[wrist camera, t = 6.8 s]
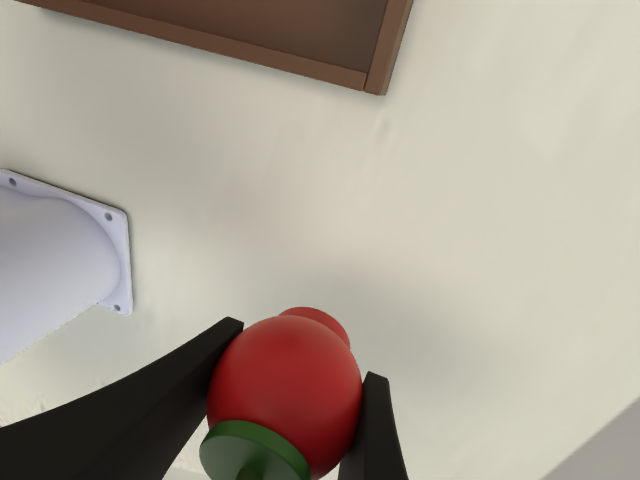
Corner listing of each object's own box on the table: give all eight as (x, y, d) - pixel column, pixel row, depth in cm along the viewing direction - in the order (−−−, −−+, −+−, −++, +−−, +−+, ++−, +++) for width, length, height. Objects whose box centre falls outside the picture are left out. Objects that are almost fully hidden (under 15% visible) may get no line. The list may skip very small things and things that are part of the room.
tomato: (246, 359, 13) (147, 513, 8) (262, 268, 11) (141, 402, 6) (353, 403, 13) (312, 596, 8) (391, 314, 10) (367, 505, 6)
